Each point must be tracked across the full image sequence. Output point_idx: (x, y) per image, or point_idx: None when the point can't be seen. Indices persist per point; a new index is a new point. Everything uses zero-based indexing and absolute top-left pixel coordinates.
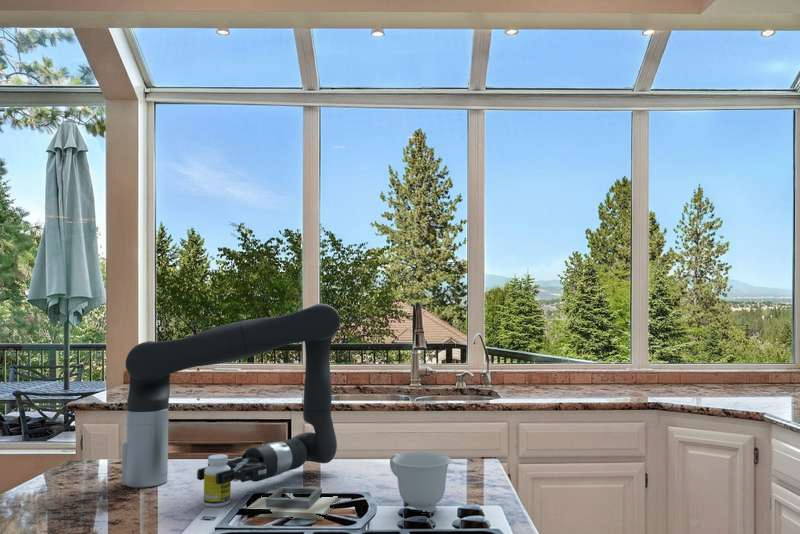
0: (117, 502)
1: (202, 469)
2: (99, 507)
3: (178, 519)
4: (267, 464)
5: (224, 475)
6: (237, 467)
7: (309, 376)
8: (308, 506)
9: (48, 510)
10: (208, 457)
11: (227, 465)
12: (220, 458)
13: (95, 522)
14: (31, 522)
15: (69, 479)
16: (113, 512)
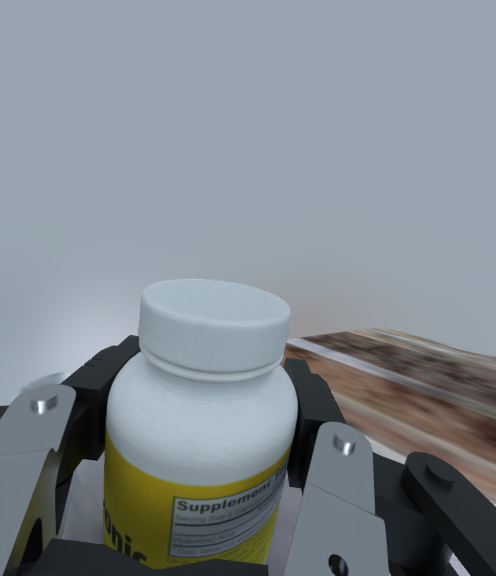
0: (464, 417)
1: (288, 364)
2: (429, 387)
3: None
4: None
5: (101, 351)
6: (33, 437)
7: None
8: None
9: (450, 361)
10: (252, 287)
11: (157, 400)
12: (163, 282)
13: (323, 347)
14: (386, 336)
15: None
16: (368, 377)
